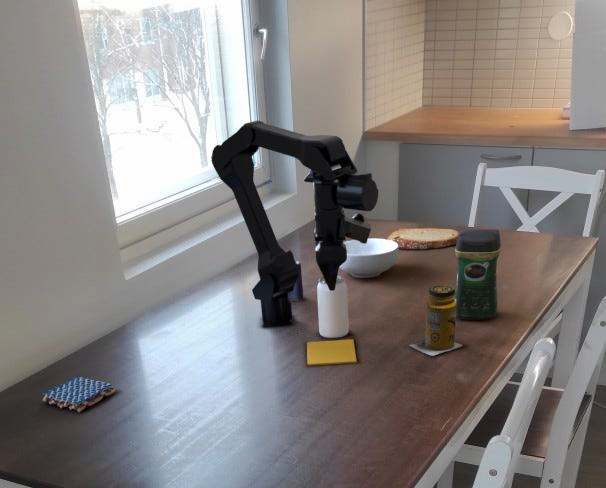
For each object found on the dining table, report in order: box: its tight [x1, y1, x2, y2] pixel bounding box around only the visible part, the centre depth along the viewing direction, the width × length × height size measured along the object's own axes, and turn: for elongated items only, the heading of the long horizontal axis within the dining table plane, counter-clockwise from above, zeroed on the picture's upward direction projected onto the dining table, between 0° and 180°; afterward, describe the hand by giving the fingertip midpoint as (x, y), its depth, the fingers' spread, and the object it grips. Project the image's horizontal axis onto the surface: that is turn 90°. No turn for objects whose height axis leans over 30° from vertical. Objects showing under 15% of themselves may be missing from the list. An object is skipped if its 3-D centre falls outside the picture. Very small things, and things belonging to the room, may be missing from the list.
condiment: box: [409, 284, 464, 357], centre depth 165 cm, size 7×8×12 cm
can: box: [316, 275, 349, 340], centre depth 175 cm, size 6×6×12 cm
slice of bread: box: [386, 227, 460, 251], centre depth 231 cm, size 18×18×4 cm
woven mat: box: [41, 376, 116, 413], centre depth 158 cm, size 10×11×2 cm
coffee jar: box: [455, 228, 502, 321], centre depth 177 cm, size 10×8×19 cm
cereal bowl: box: [339, 238, 399, 279], centre depth 210 cm, size 17×17×7 cm
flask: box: [288, 260, 304, 302], centre depth 197 cm, size 9×3×11 cm, turn 71°
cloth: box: [306, 339, 358, 367], centre depth 169 cm, size 10×12×1 cm
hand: (331, 283), depth 172 cm, fingers open, 9 cm apart
